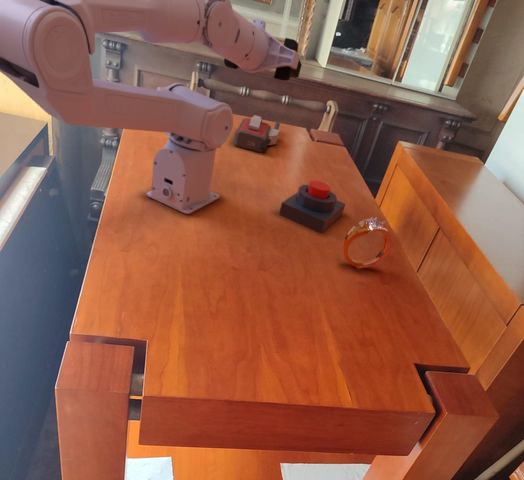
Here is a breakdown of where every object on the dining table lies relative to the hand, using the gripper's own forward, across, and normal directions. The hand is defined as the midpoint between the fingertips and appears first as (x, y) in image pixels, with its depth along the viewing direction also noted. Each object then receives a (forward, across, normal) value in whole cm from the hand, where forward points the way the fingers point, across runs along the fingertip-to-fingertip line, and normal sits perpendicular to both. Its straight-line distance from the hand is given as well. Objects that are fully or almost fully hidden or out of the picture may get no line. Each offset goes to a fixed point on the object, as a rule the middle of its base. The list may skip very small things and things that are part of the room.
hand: (278, 65), depth 82 cm
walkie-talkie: (+21, +12, +12) cm, 27 cm away
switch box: (-1, -14, +21) cm, 25 cm away
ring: (-9, -27, +25) cm, 38 cm away
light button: (-2, -14, +18) cm, 23 cm away
